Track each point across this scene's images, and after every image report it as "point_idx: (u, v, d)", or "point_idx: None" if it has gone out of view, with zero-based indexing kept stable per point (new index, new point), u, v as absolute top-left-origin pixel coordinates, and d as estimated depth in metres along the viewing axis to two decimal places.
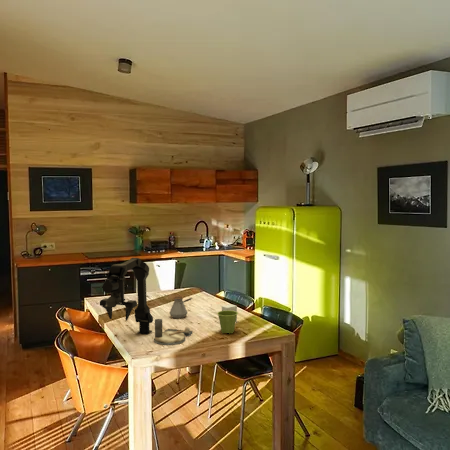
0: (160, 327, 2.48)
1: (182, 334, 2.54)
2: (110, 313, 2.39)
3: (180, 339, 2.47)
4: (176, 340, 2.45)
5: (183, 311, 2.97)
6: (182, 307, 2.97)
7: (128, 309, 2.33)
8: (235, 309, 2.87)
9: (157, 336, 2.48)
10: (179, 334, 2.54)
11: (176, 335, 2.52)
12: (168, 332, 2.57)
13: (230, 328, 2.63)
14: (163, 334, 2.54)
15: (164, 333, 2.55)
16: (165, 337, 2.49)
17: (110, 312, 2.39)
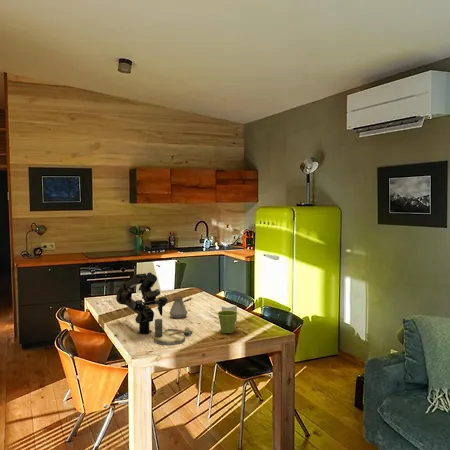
0: (160, 327, 2.48)
1: (182, 334, 2.54)
2: None
3: (180, 339, 2.47)
4: (176, 340, 2.45)
5: (183, 311, 2.97)
6: (182, 307, 2.97)
7: (164, 302, 2.59)
8: (235, 309, 2.87)
9: (157, 336, 2.48)
10: (179, 334, 2.54)
11: (176, 335, 2.52)
12: (168, 332, 2.57)
13: (230, 328, 2.63)
14: (163, 334, 2.54)
15: (164, 333, 2.55)
16: (165, 337, 2.49)
17: None
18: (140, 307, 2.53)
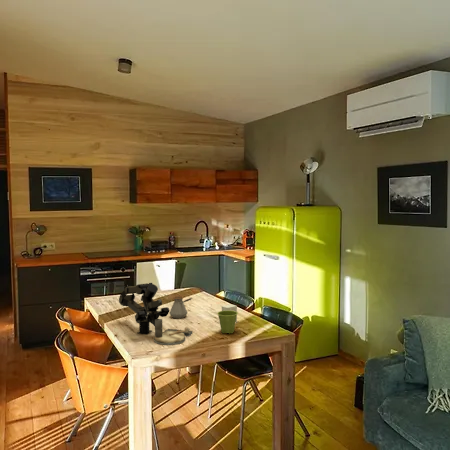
0: (160, 327, 2.48)
1: (182, 334, 2.54)
2: None
3: (180, 339, 2.47)
4: (176, 340, 2.46)
5: (183, 311, 2.97)
6: (182, 307, 2.97)
7: (159, 313, 2.55)
8: (235, 309, 2.87)
9: (157, 336, 2.48)
10: (179, 334, 2.54)
11: (176, 335, 2.52)
12: (168, 332, 2.57)
13: (230, 328, 2.63)
14: (163, 334, 2.53)
15: (164, 333, 2.55)
16: (165, 337, 2.49)
17: None
18: (149, 317, 2.54)
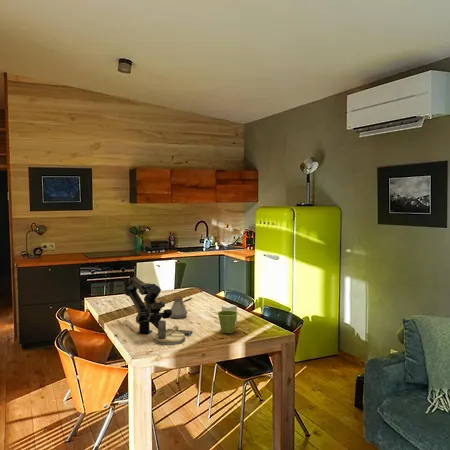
0: (165, 328, 2.46)
1: (178, 332, 2.58)
2: None
3: (184, 336, 2.52)
4: (183, 338, 2.49)
5: (183, 311, 2.97)
6: (182, 307, 2.97)
7: (161, 315, 2.51)
8: (235, 309, 2.87)
9: (163, 338, 2.45)
10: (176, 333, 2.57)
11: (175, 334, 2.54)
12: None
13: (230, 328, 2.63)
14: None
15: None
16: (169, 337, 2.48)
17: None
18: (151, 318, 2.50)
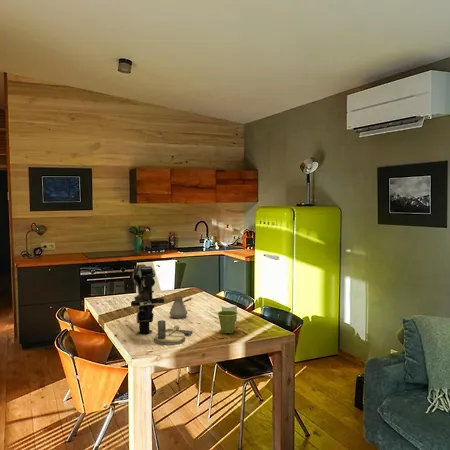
0: (165, 328, 2.46)
1: (179, 332, 2.57)
2: None
3: (184, 336, 2.52)
4: (182, 338, 2.49)
5: (183, 311, 2.97)
6: (182, 307, 2.97)
7: (148, 305, 2.49)
8: (235, 309, 2.87)
9: (162, 338, 2.46)
10: (176, 333, 2.56)
11: (175, 334, 2.54)
12: None
13: (230, 328, 2.63)
14: None
15: None
16: (169, 337, 2.48)
17: None
18: None
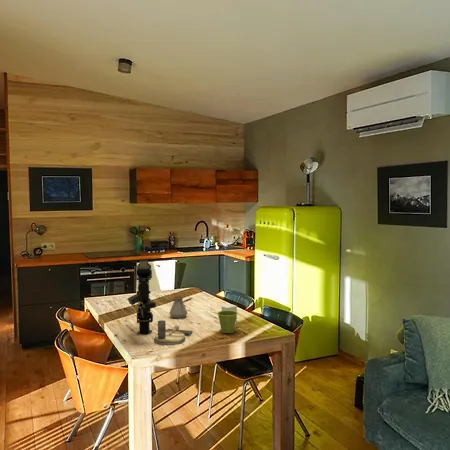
0: (165, 328, 2.46)
1: (179, 332, 2.57)
2: None
3: (184, 336, 2.52)
4: (182, 338, 2.49)
5: (183, 311, 2.97)
6: (182, 307, 2.97)
7: (141, 307, 2.48)
8: (235, 309, 2.87)
9: (162, 338, 2.46)
10: (176, 333, 2.56)
11: (175, 334, 2.54)
12: None
13: (230, 328, 2.63)
14: None
15: None
16: (169, 337, 2.48)
17: None
18: None
